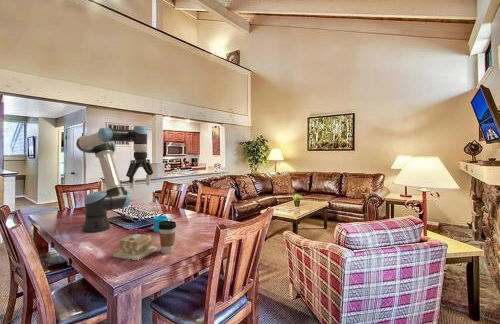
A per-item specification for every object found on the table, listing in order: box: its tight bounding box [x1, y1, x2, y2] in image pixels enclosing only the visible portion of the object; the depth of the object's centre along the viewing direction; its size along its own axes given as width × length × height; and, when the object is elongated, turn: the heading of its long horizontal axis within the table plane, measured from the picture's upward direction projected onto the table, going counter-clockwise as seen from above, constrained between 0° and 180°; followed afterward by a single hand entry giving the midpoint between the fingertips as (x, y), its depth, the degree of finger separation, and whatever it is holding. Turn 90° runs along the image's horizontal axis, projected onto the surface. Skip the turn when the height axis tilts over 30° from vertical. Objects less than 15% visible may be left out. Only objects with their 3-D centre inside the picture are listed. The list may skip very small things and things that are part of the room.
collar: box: [119, 233, 152, 255], centre depth 127 cm, size 10×10×6 cm
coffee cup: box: [158, 220, 177, 255], centre depth 129 cm, size 8×8×15 cm
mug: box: [152, 215, 173, 233], centre depth 164 cm, size 12×8×8 cm
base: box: [113, 233, 158, 261], centre depth 127 cm, size 14×14×8 cm
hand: (140, 186), depth 157 cm, fingers open, 13 cm apart
